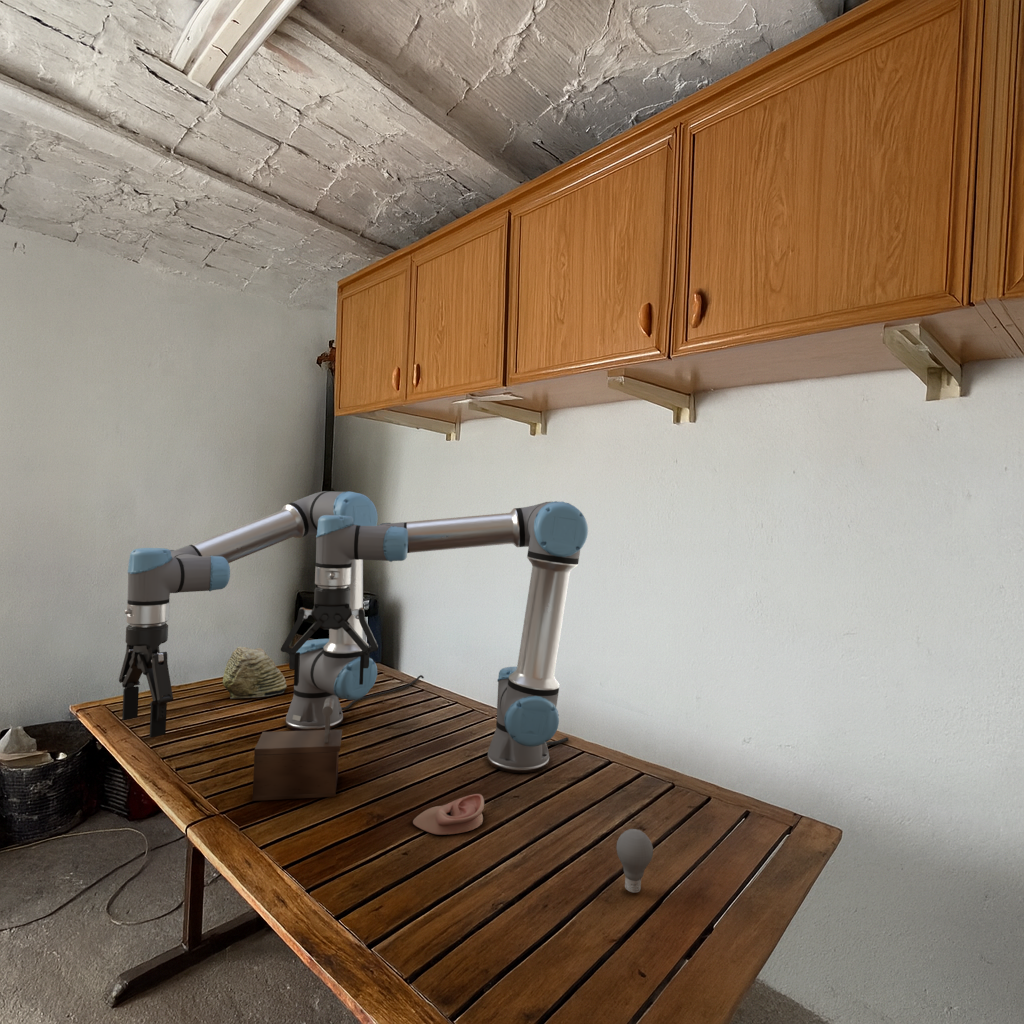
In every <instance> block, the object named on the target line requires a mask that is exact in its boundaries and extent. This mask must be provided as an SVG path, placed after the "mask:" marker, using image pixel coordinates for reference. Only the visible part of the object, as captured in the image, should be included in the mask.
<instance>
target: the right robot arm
mask: <svg viewBox="0 0 1024 1024" xmlns="http://www.w3.org/2000/svg"><path fill="white" fill-rule="evenodd" d="M586 519H587V518H586V516H585V515H584V513H582V511H581V510H580V509H579V508H577V507H576V506H574V505H573V504H572V503H570V502H565V501H558V500H555V501H545V502H542V503H538V504H534V505H529V506H524V507H515V508H512V509H511V511H510V512H505V513H494V514H493V513H491V514H482V515H481V514H480V515H471V516H470V515H469V516H460V517H446V518H435V519H425V520H413V521H403V522H401V521H400V522H383V523H380V524H377V526H360V525H354V522H353V518H352V517H351V516H340V515H323V516H321V517H320V518H319V520H318V528H317V534H315V538H316V539H315V541H316V543H315V569H314V572H315V573H314V585H316V587H315V588H314V594H313V595H314V597H313V599H314V600H313V608H312V609H310V608H306V607H303V606H301V607H300V608H299V609H298V613H297V619H296V621H295V622H294V624H293V626H292V628H291V629H290V631H289V633H288V635H287V637H286V638H285V640H284V642H283V644H282V646H281V647H280V652H282V653H286V654H287V655H289V659H288V660H289V662H288V663H289V664H288V667H289V670H293V671H294V672H293V687H294V686H298V683H299V668H300V652H297V651H298V650H299V649H300V648H301V647H302V645H303V644H304V643H305V642H306V641H308V640H310V638H311V637H312V636H313V635H314V634H315V633H316V632H317V631H318V630H319V629H322V630H323V631H324V630H325V631H329V629H334V630H338V629H340V628H343V629H344V630H345V631H346V632H347V633H348V634H349V636H350V637H351V638H352V639H353V640H354V641H355V643H356V644H357V645H358V646H359V647H360V649H361V650H362V651H363V652H361V655H360V680H359V685H363V670H364V668H368V667H369V658H370V655H371V653H374V652H377V651H378V650H379V644H378V642H377V640H376V639H375V637H374V634H373V632H372V630H371V627H370V626H369V623H368V621H367V619H366V616H365V615H366V614H365V608H364V607H363V608H359V609H355V610H351V608H350V591H351V589H350V588H349V587H348V585H350V584H351V562H352V559H355V560H359V559H360V560H363V561H383V562H390V563H392V562H402V561H403V562H404V561H405V560H406V559H407V558H408V554H412V553H414V554H415V553H424V552H425V553H426V552H435V551H447V550H459V549H469V548H480V547H491V546H493V547H494V546H503V545H513V546H515V548H527V547H528V548H527V555H526V558H527V559H528V561H529V563H530V564H531V566H532V567H531V573H530V579H529V585H528V593H527V599H526V606H525V612H524V619H523V626H522V633H521V637H520V638H521V639H520V647H519V652H518V659H517V664H516V666H506V667H503V668H501V669H499V671H498V677H497V681H496V682H497V701H496V724H495V725H496V726H495V731H494V734H493V735H492V739H491V741H490V744H489V746H488V750H487V762H488V763H489V765H490V766H492V767H493V768H495V769H497V770H499V771H503V772H506V773H512V774H531V773H536V772H540V771H542V770H544V769H546V768H547V767H548V766H549V764H550V752H549V748H548V747H549V746H556V745H560V744H564V743H566V742H568V741H569V740H570V739H569V737H567V736H566V737H563V738H562V739H559V740H552V738H553V737H554V736H555V734H556V733H557V730H558V728H559V724H560V714H559V710H558V708H557V705H558V699H559V692H560V685H561V684H560V683H559V681H558V680H557V679H556V677H555V674H556V673H555V672H556V668H557V667H556V666H557V660H558V653H559V645H560V642H561V641H560V640H561V634H562V627H563V620H564V615H565V614H564V613H565V608H566V602H567V594H568V588H569V581H570V575H571V572H572V570H574V569H575V568H576V567H578V566H579V561H580V555H581V549H582V548H583V547H584V546H585V543H586V542H587V540H588V535H589V526H588V522H587V520H586ZM351 615H354V616H355V618H356V619H359V622H360V624H361V626H362V628H363V634H364V635H365V637H366V639H367V641H368V645H369V646H368V645H367V644H366V643H365V642H364V641H365V640H364V638H363V639H362V638H361V637H360V636H359V635H358V633H357V632H356V631H355V630H354V629H353V627H352V626H351V625H350V623H349V622H348V619H349V618H350V617H351ZM309 616H311V617H312V619H313V620H314V623H313V624H312V625H311V626H310V627H309V628H308V629H307V630H306V632H304V633H303V635H302V636H301V637H300V638H299V639H298V640H297V641H296V642H295V643H294V645H293V646H292V645H291V642H292V641H293V639H294V637H295V636H296V634H297V633H298V631H299V629H300V627H301V625H302V624H303V622H304V620H307V619H308V617H309ZM363 640H364V641H363Z"/></svg>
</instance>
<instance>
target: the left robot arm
mask: <svg viewBox="0 0 1024 1024" xmlns="http://www.w3.org/2000/svg"><path fill="white" fill-rule="evenodd" d="M323 515H340V516H351V517H352V518H353V522H354V525H360V526H378V521H379V520H378V518H379V517H378V516H379V515H378V510H377V508H376V505H375V504H374V502H373V501H372V500H371V498H369V497H368V496H367V495H365V494H363V493H360V492H355V491H350V490H349V491H332V490H323V491H318V492H315V493H312V494H310V495H307V496H304V497H302V498H299V499H296V500H294V501H292V502H289V503H287V504H285V505H283V507H282V508H281V510H278V511H276V512H274V513H271V514H268V515H265V516H263V517H260V518H258V519H255V520H252V521H249V522H247V523H245V524H242V525H239V526H236V527H233V528H231V529H229V530H226V531H222V532H220V533H217V534H215V535H212V536H210V537H207V538H205V539H202V540H199V541H196V542H194V543H191V544H189V545H185V546H183V547H180V548H177V549H169V548H163V547H139V548H134V549H133V550H132V551H130V554H129V559H128V568H127V600H126V601H127V603H126V609H124V614H125V615H126V623H127V624H128V625H127V626H126V627H125V644H126V646H125V647H126V648H125V649H126V650H125V655H124V659H123V662H122V665H121V670H120V674H119V677H118V682H119V683H120V684H121V686H122V688H123V690H122V691H123V692H122V716H121V717H122V718H121V720H122V721H127V720H131V719H136V718H138V717H139V696H140V695H139V694H140V687H139V686H140V685H141V683H140V679H141V677H142V674H143V675H144V676H145V677H146V680H147V683H148V688H149V692H150V695H151V698H152V700H151V702H149V706H150V713H149V714H150V716H149V718H150V719H149V738H155V737H160V736H163V735H166V733H167V731H166V730H167V713H168V712H167V709H168V703H169V702H173V701H174V695H173V689H172V681H171V676H170V671H169V663H168V651H161V650H160V646H161V645H162V644H165V643H166V642H168V640H169V625H168V623H167V622H169V620H170V603H171V602H170V597H171V596H170V595H171V594H178V593H196V592H212V591H218V590H223V589H225V588H226V587H227V586H228V584H229V582H230V578H231V567H230V563H233V562H235V561H238V560H240V559H243V558H245V557H247V556H250V555H253V554H254V553H257V552H260V551H262V550H264V549H267V548H270V547H272V546H274V545H277V544H279V543H282V542H284V541H287V540H289V539H291V538H294V539H301V538H304V537H307V536H310V535H317V528H318V520H319V518H320V517H321V516H323ZM348 587H349V588H350V589H351V591H350V608H351V610H355V609H359V608H364V560H360V559H359V560H355V559H352V562H351V584H350V585H348ZM348 622H349V623H350V625H351V626H352V627H353V629H354V630H355V631H356V632H357V633H358V635H359V636H360V637H361V638H362V639H363V641H364V642H365V643H366V644H367V645H368V646H370V644H369V642H367V641H366V640H365V639H364V630H363V628H362V626H361V624H360V622H359V619H356V618H355V616H354V615H351V617H350V618H349V619H348ZM328 634H329V635H328V638H318V639H308V640H307V641H306V642H305V643H304V644H303V645H302V647H301V648H300V649H299V650H298V651H297V652H300V668H299V683H298V686H294V685H293V695H292V696H293V697H292V699H291V702H290V704H289V708H288V711H287V713H286V715H285V726H286V728H287V729H289V730H291V731H309V730H325V720H326V716H325V715H323V713H322V710H323V706H324V702H325V700H326V699H327V698H333V699H334V707H333V712H332V714H331V716H330V730H334V729H335V728H337V727H339V726H340V725H342V723H343V722H344V714H343V711H344V710H348V709H349V708H350V707H352V706H353V704H355V703H357V702H359V701H363V700H367V699H370V698H373V697H379V696H383V695H386V694H390V693H395V692H397V691H400V690H403V689H407V688H409V687H410V686H412V685H413V684H415V683H416V682H418V680H419V679H420V678H421V679H425V677H424V675H422V674H420V675H418V676H417V677H416V678H415V679H414V680H413V681H411V682H410V683H408V684H406V685H403V686H400V687H397V688H394V689H390V690H387V691H382V692H377V693H374V694H370V695H367V694H368V693H369V692H370V691H371V689H372V688H373V687H374V685H375V684H376V681H377V678H378V666H377V663H376V662H375V661H374V659H373V658H372V657H369V667H368V668H364V670H363V685H359V680H360V655H361V652H363V651H362V650H361V649H360V647H359V646H358V645H357V644H356V643H355V641H354V640H353V639H352V638H351V637H350V636H349V634H348V633H347V632H346V631H345V630H344V629H343V628H340V629H338V630H334V629H328ZM160 651H161V652H160ZM340 699H341V700H347V701H350V703H348V705H346V706H344V707H343V706H341V702H340Z"/></svg>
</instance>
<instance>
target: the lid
mask: <svg viewBox="0 0 1024 1024" xmlns="http://www.w3.org/2000/svg"><path fill="white" fill-rule="evenodd" d="M333 707H334V699H333V698H327V699H326V700H325V702H324V706H323V710H322V713H323V715H325V716H326V720H325V730H309V731H295V730H283V731H281V730H279V731H262V733H261V734H260V737H259V739H258V741H257V743H256V745H255V747H254V752H253V753H254V755H269V754H295V753H320V752H339V753H340V751H341V745H342V738H343V729H330V716H331V714H332V712H333ZM254 755H253V756H254Z"/></svg>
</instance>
